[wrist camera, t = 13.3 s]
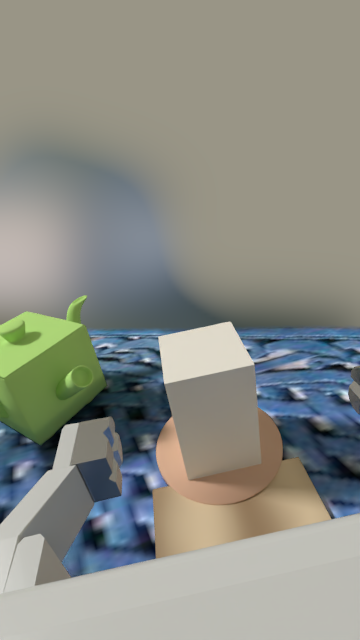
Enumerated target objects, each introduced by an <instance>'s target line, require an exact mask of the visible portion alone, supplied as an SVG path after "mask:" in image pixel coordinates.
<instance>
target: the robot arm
mask: <svg viewBox="0 0 360 640" xmlns="http://www.w3.org/2000/svg"><path fill="white" fill-rule="evenodd" d="M351 377H352V378H353V380H354V381H353V383H352V384H351V385H350V386H349V392H348V395H349V399H350V403H351V404H352V406H353V408H354V409H355V411H356V412H357V413H358V414H359V415H360V366H357V367H354V368H353V370H352V372H351ZM122 459H123V455H122V445H121V441H120V437H119V434H117V433H116V432H115V423H114V420H113V418H112V417H106V418H100V419H95V420H89V421H84V422H80V423H74V424H69V425H65V426H64V427H63V429H62V432H61V436H60V440H59V444H58V448H57V452H56V456H55V461H54V465H53V469H52V470H49V471H47V472H46V473H45V474H44V475H43V477H42V478H41V479H40V480H39V481H38V482H37V483H36V485H35V486H34V487H33V488H32V489H31V490H30V491H29V493H28V494H27V495H26V496H25V497H24V498H23V499H22V500H21V502H20V503H19V504H18V505H17V506H16V507H15V508H14V510H13V511H12V512H11V513H10V514H9V515H8V516H7V518H6V519H5V520H4V521H3V522H2V523H1V524H0V640H360V513H358V514H353V515H349V516H344V517H340V518H336V519H331V520H327V521H322V522H318V523H313V524H309V525H304V526H300V527H296V528H291V529H287V530H282V531H278V532H273V533H269V534H264V535H260V536H256V537H251V538H247V539H242V540H238V541H233V542H229V543H224V544H220V545H215V546H211V547H207V548H202V549H198V550H193V551H189V552H184V553H180V554H175V555H171V556H166V557H162V558H157V559H153V560H148V561H144V562H140V563H135V564H131V565H126V566H122V567H117V568H113V569H108V570H104V571H99V572H95V573H90V574H86V575H81V576H77V577H72V578H71V577H70V575H69V574H68V572H67V571H66V569H65V568H64V566H63V565H62V563H61V562H62V560H63V559H64V557H65V555H66V553H67V552H68V550H69V548H70V546H71V545H72V543H73V541H74V539H75V538H76V536H77V534H78V532H79V531H80V529H81V527H82V525H83V523H84V522H85V520H86V518H87V516H88V515H89V513H90V511H91V509H92V508H93V506H94V502H98V501H102V500H106V499H111V498H115V497H119V496H121V493H122V474H121V472H120V469H119V468H120V466H121V465H122Z"/></svg>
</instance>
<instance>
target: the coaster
mask: <svg viewBox="0 0 360 640" xmlns="http://www.w3.org/2000/svg"><path fill="white" fill-rule="evenodd" d="M258 421H259V435H260V449H261V464H258V465H254V466H249V467H245V468H241V469H236V470H232V471H227V472H223V473H218V474H214V475H210V476H205V477H201V478H196V479H192V480H188V477H187V473H186V469H185V465H184V461H183V457H182V453H181V449H180V445H179V441H178V437H177V433H176V429H175V425H174V421H173V417H171V418H170V419H169V420H168V422H167V423H166V424H165V426H164V427H163V429H162V431H161V433H160V435H159V438H158V441H157V446H156V458H157V463H158V467H159V470H160V473H161V475H162V477H163V479H164V481H165V482H166V484H167V485H168V486H171V487H172V488H173V489H174V490H175V491H176V492H178V493H179V494H180V495H182V496H184V497H186V498H187V499H190V500H193V501H195V502H199V503H203V504H210V505H226V504H233V503H237V502H240V501H244V500H246V499H248V498H250V497H252V496H254V495H256V494H257V493H259V492H260V491H262V490H263V489H264V488H265V487H266V486H267V485H268V484H269V483H270V482H271V481H272V480H273V478H274V477H275V475H276V473H277V472H278V469H279V467H280V465H281V461H282V458H283V445H282V439H281V435H280V432H279V430H278V428H277V426H276V425H275V423H274V422H273V420H272V419H271V418H270V417H269V416H268V415H267V414H266V413H265V412H264V411H262V410H261V409H260V408H258Z"/></svg>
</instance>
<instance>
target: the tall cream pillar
mask: <svg viewBox="0 0 360 640" xmlns="http://www.w3.org/2000/svg"><path fill="white" fill-rule="evenodd" d="M158 338H159V345H160V353H161V361H162V369H163V377H164V385H165V389H166V393H167V397H168V401H169V405H170V409H171V413H172V417H173V421H174V425H175V429H176V433H177V437H178V441H179V445H180V449H181V453H182V457H183V461H184V465H185V469H186V473H187V477H188V480H192V479H196V478H201V477H205V476H210V475H214V474H218V473H223V472H227V471H232V470H236V469H241V468H245V467H249V466H254V465H258V464H261V449H260V435H259V421H258V407H257V393H256V379H255V365H254V363H253V361H252V359H251V357H250V356H249V354H248V352H247V350H246V348H245V347H244V345H243V343H242V341H241V340H240V338H239V336H238V334H237V332H236V331H235V329H234V327H233V325H232V323H231V322H226V323H221V324H216V325H212V326H207V327H202V328H198V329H193V330H188V331H183V332H179V333H174V334H169V335H164V336H160V337H158Z"/></svg>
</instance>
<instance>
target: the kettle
mask: <svg viewBox="0 0 360 640" xmlns="http://www.w3.org/2000/svg"><path fill="white" fill-rule="evenodd" d="M86 298H87V296H82V297H80V298H78V299H76V300H75V301H73V302H72V303H71V305H70V306H69V309H68V312H67V320H62V319H58V318H53V317H49V316H45V315H41V314H35V313H31V312H24V313H23V314H21V315H19V316H18V317H16V318H13V319H11V320H10V321H8V322H6V323H4V324H2V325H0V421H1V422H3V423H5V424H6V425H8V426H10V427H11V428H13V429H14V430H16V431H18V432H19V433H21V434H23V435H24V436H26V437H28V438H29V439H31V440H33V441H34V442H36V443H38V444H39V445H42V444H43V443H44V442H45V441H46V440H48V439H50V438H51V437H52V436H53V435H54V434H55V433H56V431H58V430H59V429H60V428H61V427H62V426H63V425H64V424H65V423H66V422H68V421H69V420H70V419H71V418H72V417H73V416H74V415H75V414H76V413H78V412H79V411H80V410H81V409H82V408H83V407H84V406H85V405H86V404H88V403H90V402H91V401H92V400H93V398H94V397H95V396H96V395H98V394H99V393H100V392H101V391H102V390H103V389H104V388H105V387H106V386H107V384H106V381H105V378H104V376H103V373H102V370H101V367H100V364H99V362H98V359H97V356H96V353H95V351H94V348H93V345H92V342H91V340H90V337H89V334H88V331H87V329H86V326H85V325H82V324H81V320H80V311H81V307H82V305H83V303H84V301H85V300H86Z"/></svg>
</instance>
